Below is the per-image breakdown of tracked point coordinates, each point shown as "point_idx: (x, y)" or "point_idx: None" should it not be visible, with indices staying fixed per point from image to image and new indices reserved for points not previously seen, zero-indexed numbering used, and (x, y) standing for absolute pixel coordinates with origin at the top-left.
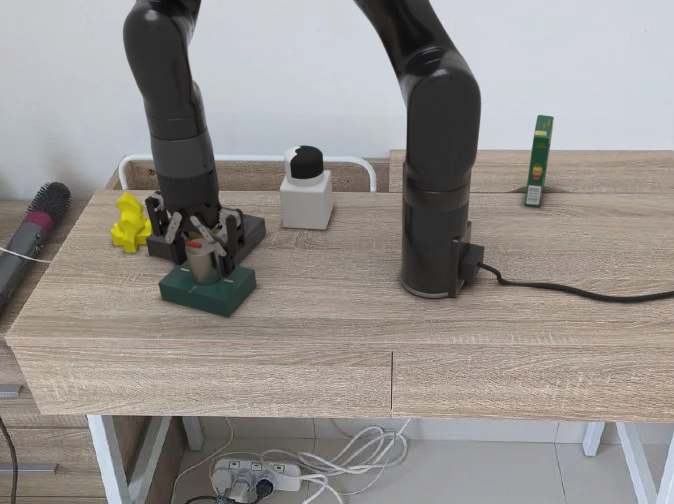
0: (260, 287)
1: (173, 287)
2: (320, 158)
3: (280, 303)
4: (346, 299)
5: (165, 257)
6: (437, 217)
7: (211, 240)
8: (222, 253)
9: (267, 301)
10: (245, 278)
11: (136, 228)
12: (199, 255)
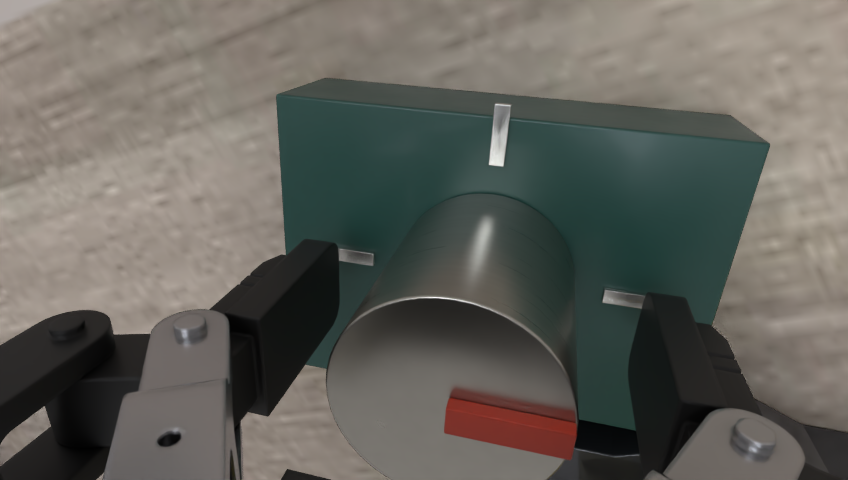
0: None
1: (639, 129)
2: None
3: (191, 229)
4: (25, 298)
5: (845, 438)
6: None
7: (154, 396)
8: (181, 320)
9: (241, 230)
10: None
11: None
12: (393, 298)
